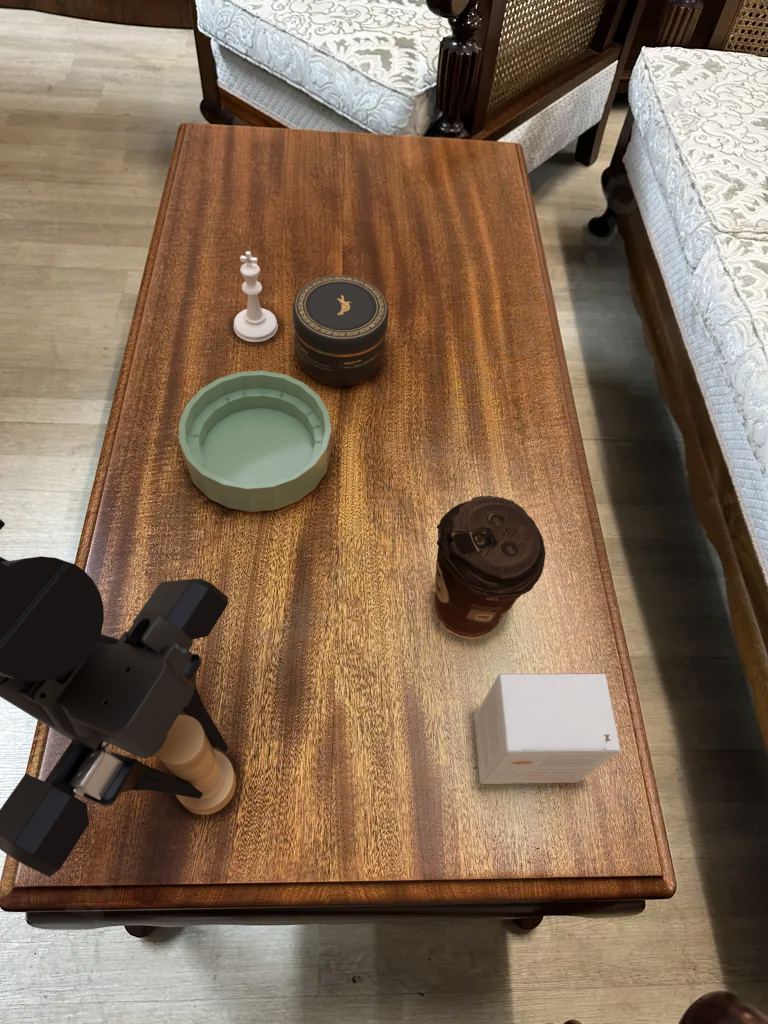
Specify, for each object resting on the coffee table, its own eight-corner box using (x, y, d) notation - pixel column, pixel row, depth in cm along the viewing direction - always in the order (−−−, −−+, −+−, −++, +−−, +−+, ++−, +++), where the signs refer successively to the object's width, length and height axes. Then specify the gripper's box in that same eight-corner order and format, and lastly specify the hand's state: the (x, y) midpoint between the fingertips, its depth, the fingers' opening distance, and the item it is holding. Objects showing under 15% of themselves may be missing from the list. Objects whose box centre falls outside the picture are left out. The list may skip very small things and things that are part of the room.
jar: (363, 318, 83) (367, 264, 77) (398, 379, 79) (405, 326, 72) (281, 338, 81) (278, 283, 74) (312, 402, 76) (312, 350, 70)
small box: (566, 714, 60) (609, 671, 51) (577, 785, 57) (624, 751, 48) (471, 714, 60) (498, 670, 51) (478, 785, 57) (507, 752, 48)
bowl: (156, 475, 70) (147, 447, 66) (238, 381, 77) (234, 351, 73) (282, 538, 67) (280, 512, 63) (355, 434, 74) (357, 406, 70)
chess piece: (239, 308, 83) (230, 234, 74) (281, 315, 83) (277, 241, 74) (228, 338, 80) (218, 264, 72) (272, 345, 80) (266, 272, 72)
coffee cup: (405, 629, 63) (423, 558, 52) (434, 552, 67) (456, 472, 57) (500, 664, 62) (538, 599, 51) (523, 584, 66) (563, 508, 55)
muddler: (165, 796, 54) (126, 753, 43) (199, 744, 57) (170, 691, 46) (214, 826, 54) (187, 789, 43) (247, 772, 56) (229, 724, 45)
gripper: (-59, 833, 31) (198, 958, 39) (179, 509, 41) (348, 660, 48) (-112, 789, 39) (110, 900, 47) (98, 527, 49) (254, 654, 56)
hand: (211, 772), depth 49 cm, fingers closed on muddler, 3 cm apart
